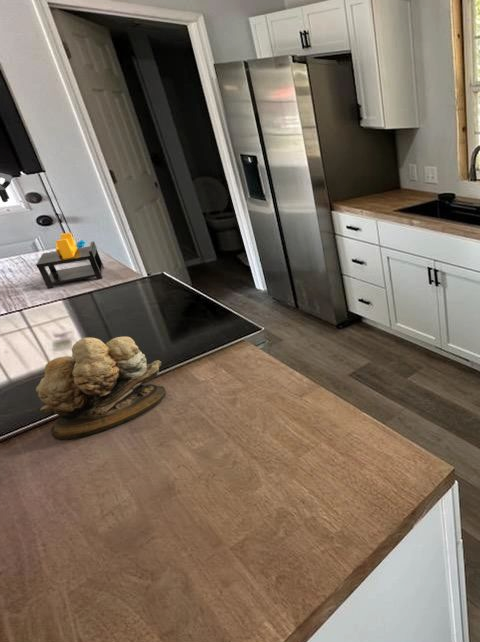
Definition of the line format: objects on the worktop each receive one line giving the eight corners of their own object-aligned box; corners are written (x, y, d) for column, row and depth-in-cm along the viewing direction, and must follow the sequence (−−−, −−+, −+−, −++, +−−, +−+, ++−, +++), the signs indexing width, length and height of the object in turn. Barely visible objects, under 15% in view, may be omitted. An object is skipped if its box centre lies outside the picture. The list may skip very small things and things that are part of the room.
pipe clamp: (61, 251, 151) (54, 234, 148) (77, 249, 153) (70, 232, 151) (56, 260, 142) (48, 242, 140) (73, 257, 144) (66, 239, 142)
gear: (63, 255, 170) (80, 235, 171) (81, 261, 174) (97, 242, 176) (64, 265, 163) (82, 244, 164) (83, 271, 168) (100, 251, 169)
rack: (47, 289, 141) (33, 260, 137) (53, 276, 152) (40, 249, 148) (102, 278, 150) (91, 251, 146) (104, 267, 161) (93, 241, 157)
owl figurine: (166, 379, 92) (140, 311, 86) (177, 402, 85) (150, 330, 79) (51, 421, 80) (11, 345, 74) (52, 452, 73) (8, 371, 66)
